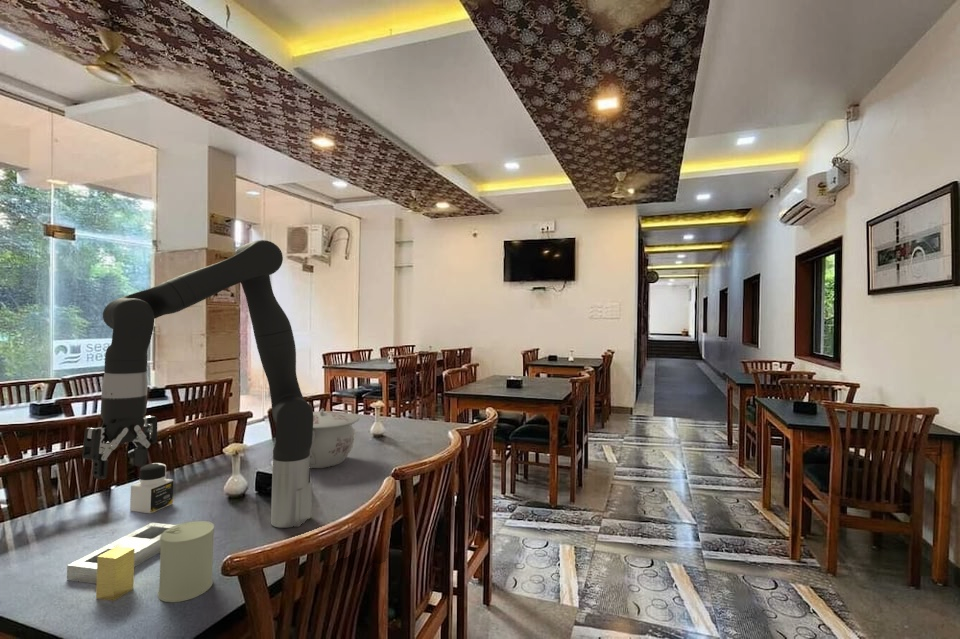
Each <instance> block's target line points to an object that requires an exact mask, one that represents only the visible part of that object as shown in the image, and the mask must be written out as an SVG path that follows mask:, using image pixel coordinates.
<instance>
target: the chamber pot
mask: <svg viewBox="0 0 960 639" xmlns="http://www.w3.org/2000/svg"><path fill="white" fill-rule="evenodd" d="M359 420H360V416H358V415H356V414H355V413H354V414H352V413H349V412H345V411H333V410H332V411H331V410H328V411H327V410H325V408H320V411H313V437H312V445H311V448H310V466H309V467H310V468H309V469H312V468H321V469H325V468H324V467H328V468H331V467H330V466H332V467H334V466H337V465H339V464H342V463H343V462H344V461H345V460H346V459H347V458H348V456H349V454H350V453H351V452H352V449H353V446H354V442H355V437H356V436H355V435H356V429H355V428H354V426H353V425H355V424H356V423H357V422H359Z"/></svg>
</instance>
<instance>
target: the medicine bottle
mask: <svg viewBox="0 0 960 639" xmlns="http://www.w3.org/2000/svg"><path fill="white" fill-rule="evenodd" d="M139 468H140V469H139V481H138V482H137V483H134V484H132V485H131V486H130V502H129V510H130V511H131V512H137V513H142V514H143V513H144V514H153V513H155V512H158V511H159V510H162V509H164V508H166V507H168V506H171V505H172V504H174V479H171V478H167V465H166V464H165V463H161V462H153V463H148V464H145V465H144V466H140V467H139Z"/></svg>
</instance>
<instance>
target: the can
mask: <svg viewBox="0 0 960 639" xmlns="http://www.w3.org/2000/svg"><path fill="white" fill-rule="evenodd" d="M175 525H176V526H173V527H171V528H169V529H167V530H165V531H164V532H163V533H162V534H161V536H160V539H161V552H159V553H160V557H159V558H160V560H159V562H160V563H159V564H160V565H159V587H158V593H157V597H158V598H159V600H160V601H162V602H164V603H165V602H166V603H180V602H185V601H189V600H192V599H195V598H197V597H200V596H201V595H203V594H204V593H206V592H207V591H208V590H210V588H212V586H213V583H214V579H213V562H214V561H213V560H214V559H213V558H214V532H215V524H214V523H212V522H211V521H208V520H207V521H205V520H193V521H189V522H188V521H187V522H182V523H179V524H175Z"/></svg>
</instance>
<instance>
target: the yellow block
mask: <svg viewBox="0 0 960 639" xmlns="http://www.w3.org/2000/svg"><path fill="white" fill-rule="evenodd" d="M134 552H135V548H127V547H118V546H117V547H115V548H113V549H111V550H109V551H107V552H105V553H103V554H101V555H100V556H98V557H97V584H96V590H95V593H96V594H95V596H96V597H95V599H96V598H98V599H97V600H104V599H105V600H104V601H106V600H107V601H112V602H113V601H114V602H115V601H117V600H118V599H119V598H121V597H123V596H124V595H126V594H127V593H130V591H133V590H134V582H135V581H134V579H135V578H134V576H135V567H134Z"/></svg>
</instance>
